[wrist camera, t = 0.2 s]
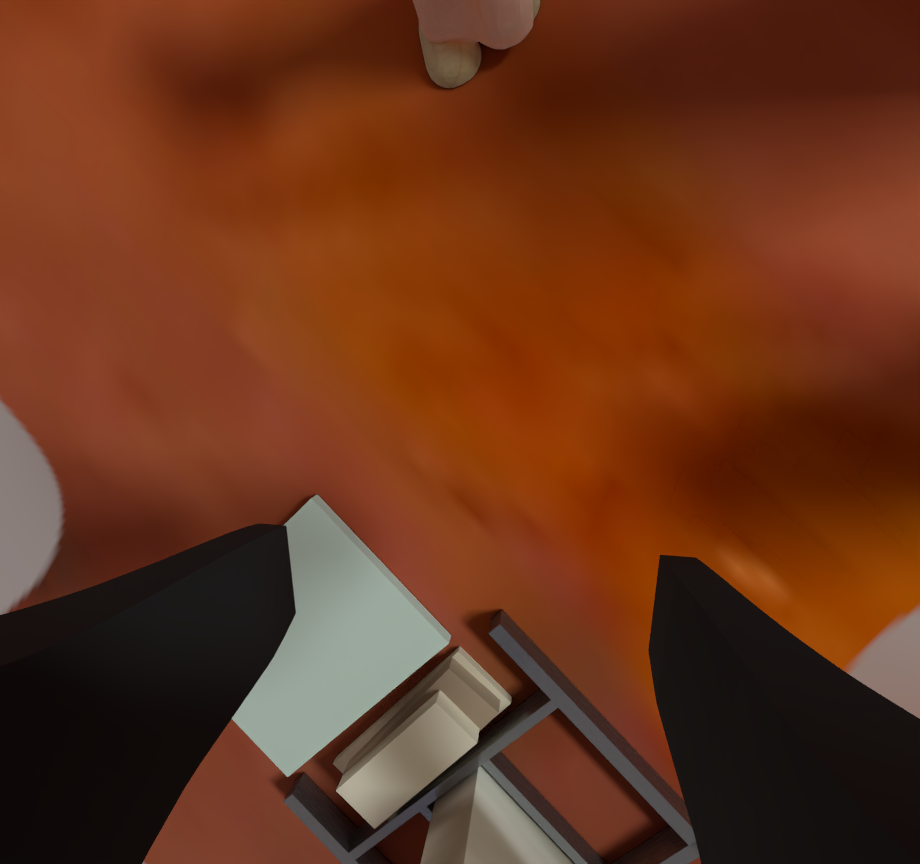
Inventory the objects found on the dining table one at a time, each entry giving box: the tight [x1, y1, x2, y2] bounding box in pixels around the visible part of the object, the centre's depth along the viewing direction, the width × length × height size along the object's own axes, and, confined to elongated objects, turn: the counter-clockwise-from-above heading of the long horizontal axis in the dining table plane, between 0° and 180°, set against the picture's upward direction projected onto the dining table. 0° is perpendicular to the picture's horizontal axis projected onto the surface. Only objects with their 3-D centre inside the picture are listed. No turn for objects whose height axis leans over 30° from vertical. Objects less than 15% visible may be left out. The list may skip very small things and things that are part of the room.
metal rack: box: [283, 610, 700, 864], centre depth 22 cm, size 13×12×1 cm
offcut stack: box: [333, 646, 512, 829], centre depth 22 cm, size 8×3×2 cm, turn 136°
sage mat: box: [232, 495, 451, 777], centre depth 23 cm, size 10×8×1 cm
